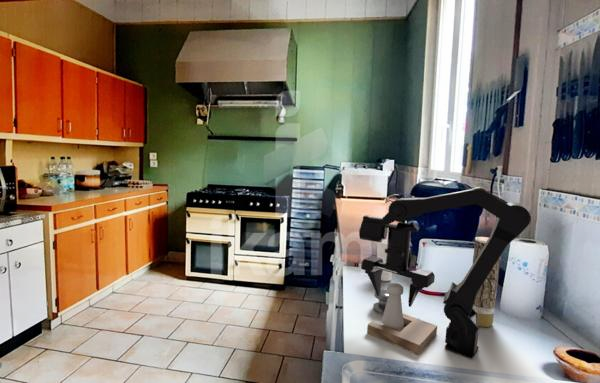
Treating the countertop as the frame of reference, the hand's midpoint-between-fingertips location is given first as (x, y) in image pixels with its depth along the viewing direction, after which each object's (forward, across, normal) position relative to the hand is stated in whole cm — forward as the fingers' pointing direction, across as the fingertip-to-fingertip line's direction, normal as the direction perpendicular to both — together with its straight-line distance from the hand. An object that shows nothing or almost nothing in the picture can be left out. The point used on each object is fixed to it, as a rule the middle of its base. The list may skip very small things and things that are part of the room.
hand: (393, 300), depth 91 cm
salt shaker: (+8, 0, 0) cm, 9 cm away
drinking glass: (+8, +19, -34) cm, 40 cm away
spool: (+8, +7, -10) cm, 15 cm away
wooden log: (+8, -17, -23) cm, 30 cm away
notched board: (+8, -3, 0) cm, 9 cm away
